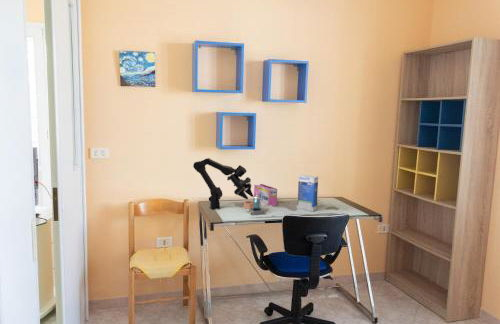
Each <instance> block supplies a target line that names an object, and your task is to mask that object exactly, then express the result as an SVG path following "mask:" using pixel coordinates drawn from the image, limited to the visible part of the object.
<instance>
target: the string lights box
mask: <svg viewBox="0 0 500 324" xmlns="http://www.w3.org/2000/svg"><path fill="white" fill-rule="evenodd" d="M318 187H319V176H315V175H309V174H307V175H306V174H301V175H298V189H297V190H298V191H297V210H301V211H309V212H315V211H317V210H318V191H319V190H318V189H319V188H318Z"/></svg>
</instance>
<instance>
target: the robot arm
mask: <svg viewBox="0 0 500 324" xmlns="http://www.w3.org/2000/svg"><path fill="white" fill-rule="evenodd" d="M207 165H208V166H210V167H212V168H215V169H216V170H219V171H220V173H222V174H223V175H224V176H227V177H226V178H227V181H231V182H232V184H233V186H234V187H236V189H234V191H233V192H234V193H233V194H235V195H237V196H239V197H241V198H243V199H245V200H249V198H248V195H249V196H250V197H252V198H254V193H253V192H252V189H251V188H252V184H251V183H252V182H251V181H252V179H251V178H250V177H245V179H242V178H241V177H243V176H244V175H245V174H246V173H247V169H246V168H245V167H243V166H242V165H238V166H237V168H233V167H232V166H229V165H224V164H221V163H220V162H218V161H215V160H213V159H211V158H209V157H206V158H205V159H203V160H198V161H195V162H193V166H192V167H193V168H194V171H196V172H197V173H199V174H200V176H201V178H202V179H203V181H204V182H205V184H206V185H207V187H208V189H209V191H210V192H209V193H210V196H209V197H208V202H209V209H210V210H221V202H220V200H221V198H222V197H223V191H222V190H221V188H220V186H218V187H217V186H216V185H215V183H214V181H213V180H212V178H211V177H210V175H209V174H208V172H207V170H206V166H207Z"/></svg>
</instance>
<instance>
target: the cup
mask: <svg viewBox="0 0 500 324" xmlns="http://www.w3.org/2000/svg"><path fill="white" fill-rule="evenodd" d="M253 203H254V200H246V201H244V202H243V208H244V209H245V210H246V209H247V210H249V209H250V208H253Z"/></svg>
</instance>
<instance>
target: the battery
mask: <svg viewBox="0 0 500 324" xmlns="http://www.w3.org/2000/svg"><path fill="white" fill-rule="evenodd" d="M253 201H254V203H253V211H259V208H260V205H261V203H260V196H258V195H256V196H254V195H253ZM260 209H261V208H260Z"/></svg>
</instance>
